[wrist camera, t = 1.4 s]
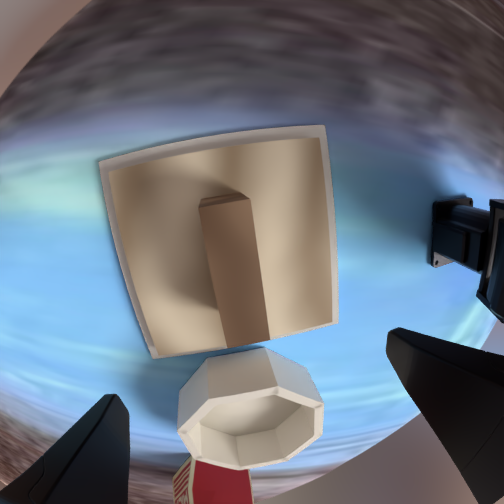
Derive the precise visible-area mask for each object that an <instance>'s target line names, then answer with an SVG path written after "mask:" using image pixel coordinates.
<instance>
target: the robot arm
mask: <svg viewBox="0 0 504 504" xmlns="http://www.w3.org/2000/svg"><path fill="white" fill-rule="evenodd" d="M489 206H490V211H487V210H483V209H479V208H475V207H473V200H472V198H469V197H466V198H457V199H449V200H441V201H435V202H434V204H433V237H432V254H431V266H433V267H435V268H437V267H440V266H443V265H446V264H449V263H452V262H456V263H458V264H460V265H462V266H464V267H466V268H468V269H470V270H473V271H475V272H477V273H479V274H481V279H480V284H479V288H478V290H477V294H476V297H477V298H478V299H479V300H480V301H481V302H482V303H483V304H484V305H485V306H486V307H487V308H488V309H489V310H490V311H491V312H492V313H493V314H494V315H495V316H496V317H497V318H498V319H499V320H500V321H501V322H502V323H504V200H502V199H490V201H489ZM386 354H387V357H388V359H389V360H390V362H391V364H392V366H393V368H394V370H395V371H396V373H397V375H398V377H399V379H400V381H401V382H402V384H403V386H404V388H405V389H406V391H407V392H408V394H409V395H410V397H411V398H412V400H413V401H414V403H415V404H416V406H417V407H418V408H419V410H420V411H421V413H422V414H423V416H424V417H425V419H426V420H427V422H428V423H429V425H430V426H431V428H432V429H433V431H434V432H435V434H436V435H437V437H438V438H439V440H440V441H441V443H442V444H443V446H444V447H445V449H446V450H447V452H448V454H449V455H450V457H451V458H452V460H453V462H454V463H455V465H456V466H457V468H458V469H459V471H460V472H461V475H462V477H463V478H464V480H465V481H466V483H467V485H468V486H469V488H470V490H471V492H472V493H473V495H474V497H475V498H476V500H477V502H478V504H494V503H495V502H496V501H498V500H499V499H500V498H502V497H503V496H504V356H503V355H499V354H494V353H490V352H485V351H483V350H479V349H475V348H471V347H468V346H464V345H460V344H457V343H453V342H449V341H446V340H442V339H439V338H435V337H432V336H428V335H425V334H421V333H418V332H414V331H411V330H407V329H404V328H400V327H398V328H395V329H393V330H390V331H389V332H388V335H387V344H386ZM129 462H130V431H129V412H128V410H127V408H126V407H125V405H124V404H123V402H122V401H121V399H120V397H119V396H118V395H117V394H106V395H104V396H103V397H102V398H101V399H100V400H99V401H98V402H97V403H96V404H95V405H94V406H93V407H92V408H91V409H90V410H89V411H88V412H86V413H85V414H84V415H83V416H82V417H81V418H80V419H79V420H78V421H77V422H76V423H75V424H74V425H73V426H72V427H71V428H70V429H69V430H68V431H67V432H66V433H65V434H64V435H63V436H62V437H61V438H60V439H59V440H58V441H57V442H56V443H55V444H54V445H52V446H51V447H50V448H49V449H48V450H47V451H46V452H45V453H44V454H43V456H41V457H40V458H39V459H38V460H37V461H36V462H35V463H34V464H33V465H32V466H31V467H29V468H28V469H27V470H26V471H25V472H24V473H22V474H21V475H20V476H19V477H17V478H16V479H15V480H14V481H12V482H11V483H10V484H8V485H7V486H6V487H5V488H3V489H2V490H1V491H0V504H128V479H129Z"/></svg>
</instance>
